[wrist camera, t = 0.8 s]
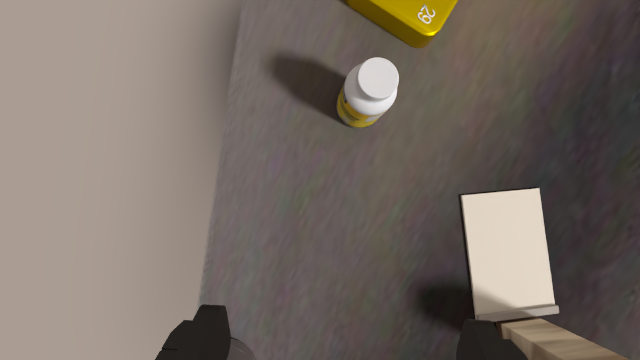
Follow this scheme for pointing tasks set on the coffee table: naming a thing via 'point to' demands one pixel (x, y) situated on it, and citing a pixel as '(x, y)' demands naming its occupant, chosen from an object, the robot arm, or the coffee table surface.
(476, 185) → the coffee table surface
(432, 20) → the element tile
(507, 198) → the mat
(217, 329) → the robot arm
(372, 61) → the pill bottle
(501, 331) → the birch block
